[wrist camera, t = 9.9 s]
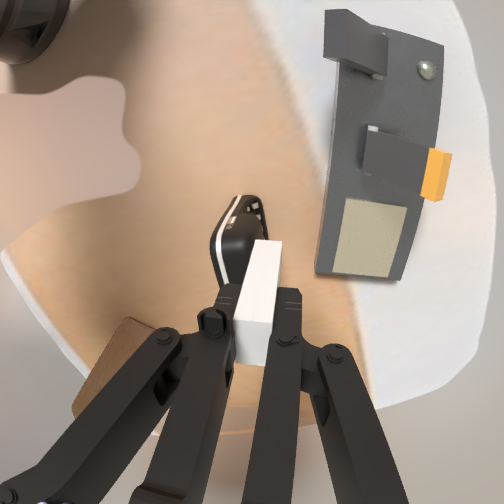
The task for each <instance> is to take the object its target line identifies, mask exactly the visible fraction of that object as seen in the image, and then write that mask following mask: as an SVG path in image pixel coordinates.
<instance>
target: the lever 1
mask: <svg viewBox="0 0 504 504" xmlns="http://www.w3.org/2000/svg"><path fill="white" fill-rule="evenodd" d="M388 39H389V38H388V37H387V36H386V35H385V33H382V32H380V31H379V30H378V29H376V28H375V27H373V26H372V25H370V24H369V23H368V22H366V21H365V20H363V19H362V18H360V17H359V16H357V15H356V14H354V13H352V12H351V11H349V10H348V9H333V10H325V27H324V54H323V57H324V58H327V59H330V60H333V61H336V62H339V63H342V64H344V65H347V66H350V67H353V68H355V69H358V70H360V71H363V72H366V73H368V74H373V77H372V78H373V79H377V80H383V76H387V65H388Z"/></svg>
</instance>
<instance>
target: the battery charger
mask: <svg viewBox="0 0 504 504" xmlns="http://www.w3.org/2000/svg"><path fill="white" fill-rule="evenodd" d="M255 240H268V235H267V229H266V223H265V218H264V212H263V207H262V203H261V200H260V198H258V197H257V196H254V195H243V196H242V195H238V196H236V197H234V198H233V200H232V202H231V203H230V205H229V207H228V209H227V210H226V211H225V213H224V214H223V216H222V217H221V219H220V220H219V222H218V224H217V226H216V228H215V229H214V231H213V233H212V236H211V239H210V255H211V260H212V263H213V267H214V271H215V274H216V278H217V281H218V284H219V287H220V289H221V288H222V287H223V286H224V285H225V284H226V283H229V284H240V285H243V282H244V279H245V275H246V272H247V268H248V265H249V261H250V257H251V254H252V250H253V247H254V243H255Z"/></svg>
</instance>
